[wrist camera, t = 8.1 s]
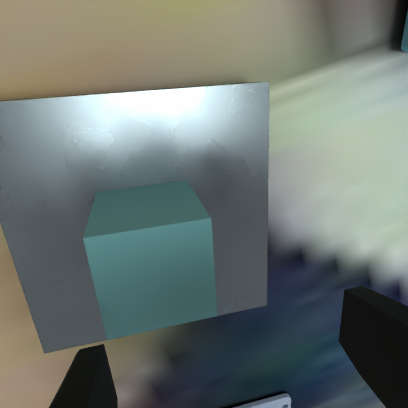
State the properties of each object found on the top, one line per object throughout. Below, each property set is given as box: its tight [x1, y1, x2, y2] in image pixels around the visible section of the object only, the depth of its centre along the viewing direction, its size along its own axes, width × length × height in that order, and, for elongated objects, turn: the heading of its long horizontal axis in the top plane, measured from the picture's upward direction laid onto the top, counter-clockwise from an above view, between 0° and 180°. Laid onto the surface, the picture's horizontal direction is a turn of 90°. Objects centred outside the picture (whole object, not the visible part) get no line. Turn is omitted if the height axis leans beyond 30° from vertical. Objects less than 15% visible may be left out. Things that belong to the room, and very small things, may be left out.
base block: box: [0, 82, 269, 353], centre depth 16 cm, size 12×12×2 cm
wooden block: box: [83, 180, 217, 340], centre depth 13 cm, size 4×4×4 cm
